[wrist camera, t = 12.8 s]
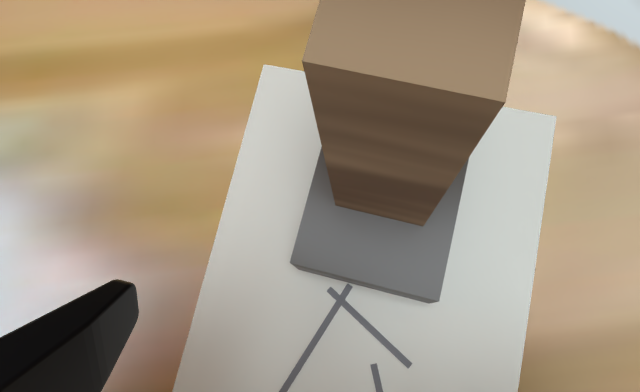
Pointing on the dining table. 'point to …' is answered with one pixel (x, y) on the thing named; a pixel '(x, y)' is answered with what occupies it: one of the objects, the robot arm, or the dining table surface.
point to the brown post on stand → (398, 133)
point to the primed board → (357, 301)
